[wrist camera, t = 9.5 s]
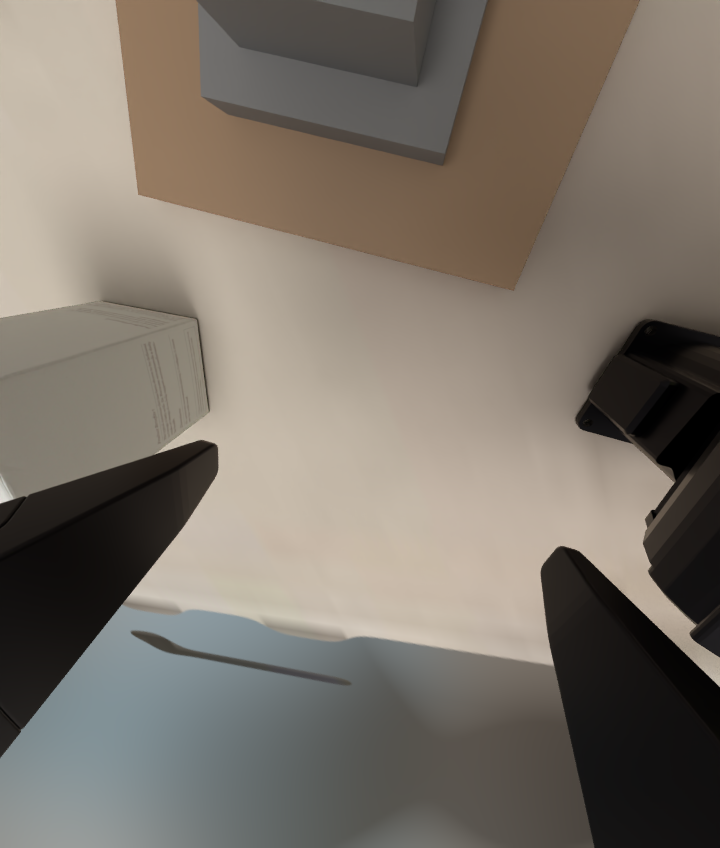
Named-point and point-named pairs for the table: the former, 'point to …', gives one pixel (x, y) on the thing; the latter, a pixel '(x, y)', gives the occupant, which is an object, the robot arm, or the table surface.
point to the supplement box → (92, 391)
